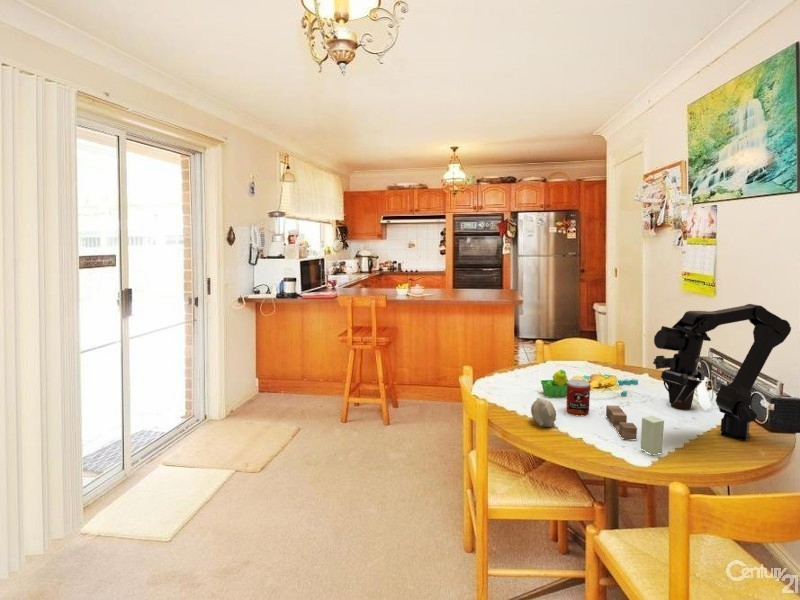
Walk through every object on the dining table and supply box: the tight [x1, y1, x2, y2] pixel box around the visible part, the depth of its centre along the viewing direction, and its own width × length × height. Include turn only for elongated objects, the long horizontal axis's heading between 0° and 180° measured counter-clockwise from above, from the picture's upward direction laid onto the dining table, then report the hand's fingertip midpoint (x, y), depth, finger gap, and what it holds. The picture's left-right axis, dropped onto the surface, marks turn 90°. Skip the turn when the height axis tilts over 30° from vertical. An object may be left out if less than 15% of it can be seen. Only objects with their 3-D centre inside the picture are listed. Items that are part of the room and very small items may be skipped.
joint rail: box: [605, 405, 638, 440], centre depth 156 cm, size 19×4×4 cm, turn 171°
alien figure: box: [582, 374, 639, 398], centre depth 199 cm, size 20×2×20 cm
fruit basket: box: [540, 369, 570, 398], centre depth 188 cm, size 11×9×11 cm
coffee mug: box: [663, 381, 696, 411], centre depth 174 cm, size 12×9×10 cm
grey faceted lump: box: [530, 397, 557, 428], centre depth 160 cm, size 9×8×10 cm
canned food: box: [566, 378, 591, 417], centre depth 170 cm, size 8×8×11 cm
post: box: [640, 415, 665, 456], centre depth 139 cm, size 4×4×10 cm
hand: (677, 401), depth 146 cm, fingers open, 9 cm apart
